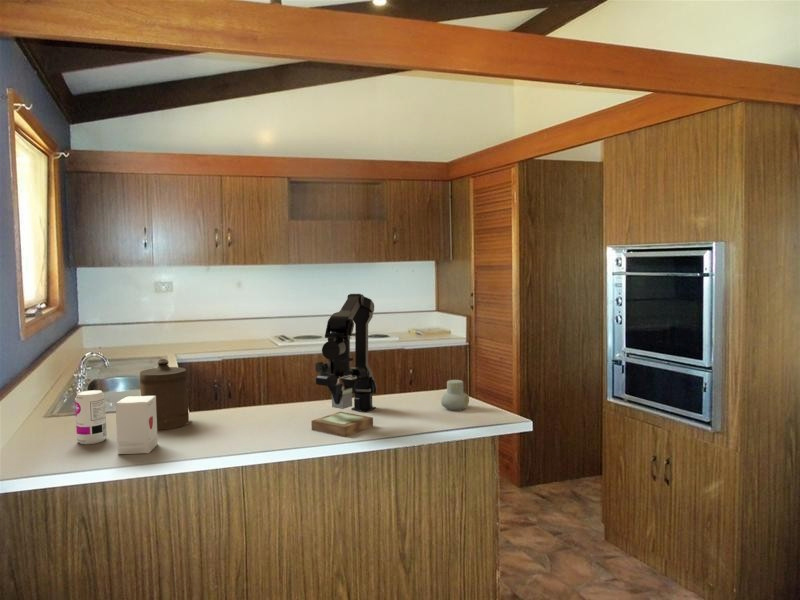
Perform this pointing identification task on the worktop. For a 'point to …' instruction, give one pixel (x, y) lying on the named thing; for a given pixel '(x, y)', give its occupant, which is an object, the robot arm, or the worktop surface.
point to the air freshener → (455, 396)
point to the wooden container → (167, 394)
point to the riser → (342, 423)
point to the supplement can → (90, 417)
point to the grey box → (344, 398)
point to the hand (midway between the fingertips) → (342, 402)
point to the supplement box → (136, 424)
